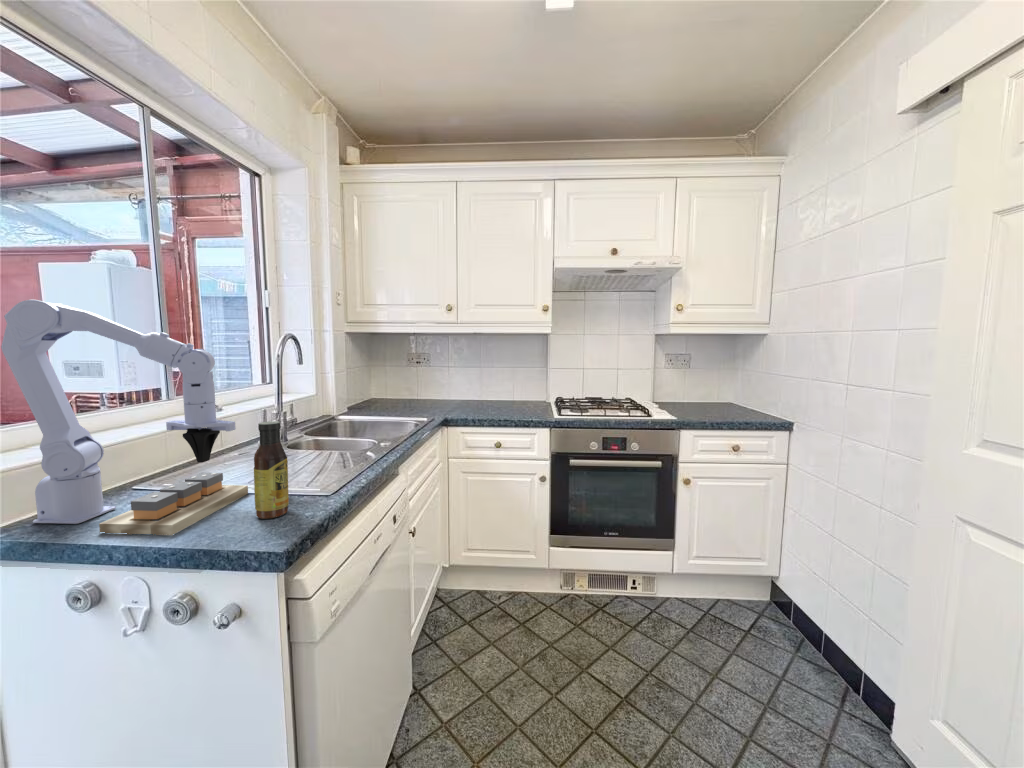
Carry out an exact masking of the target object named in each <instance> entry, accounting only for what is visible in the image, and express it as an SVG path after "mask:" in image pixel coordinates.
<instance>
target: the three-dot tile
mask: <svg viewBox="0 0 1024 768" xmlns="http://www.w3.org/2000/svg"><path fill="white" fill-rule="evenodd" d="M223 475H224V474H223V472H200V473H197V474H195V475H192V476H190V477H188V478H185V479H184V482H202V490H201V495H202V496H210V495H209V494H211V493H213V492H215V491H217V490H219V489H221V488H222V485H223V484H222V483H223V481H224V476H223Z"/></svg>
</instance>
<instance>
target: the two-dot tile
mask: <svg viewBox="0 0 1024 768" xmlns="http://www.w3.org/2000/svg"><path fill="white" fill-rule="evenodd" d="M201 490H202V482H185V481H177V482H174V483H173V484H170V485H168V486H164V487H163V488H160V489H159V492H174V493H177V495H178V501H177V502H176V506H179V507H187V506H186V505H188V504H190V503H192V502H194V501H196V500H198V499H200V498H201Z"/></svg>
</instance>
